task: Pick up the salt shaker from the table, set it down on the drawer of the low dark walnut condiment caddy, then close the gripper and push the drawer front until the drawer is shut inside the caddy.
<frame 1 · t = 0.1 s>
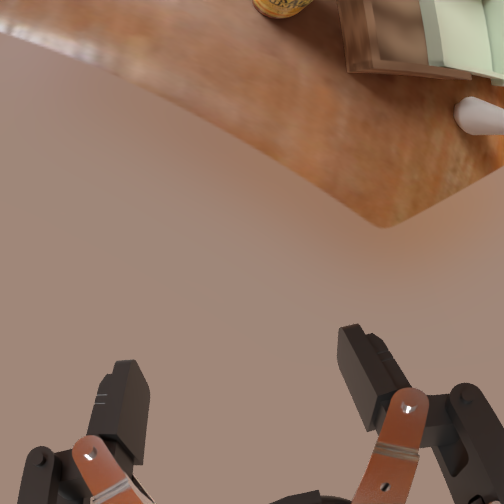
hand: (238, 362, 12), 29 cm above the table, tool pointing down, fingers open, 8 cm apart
drawer: (474, 25, 27), point 4 cm above the table, slide at 11.0 cm
sauce bottle: (277, 0, 29), on the table
cabinet: (389, 13, 30), on the table
salt shaker: (461, 113, 37), on the table
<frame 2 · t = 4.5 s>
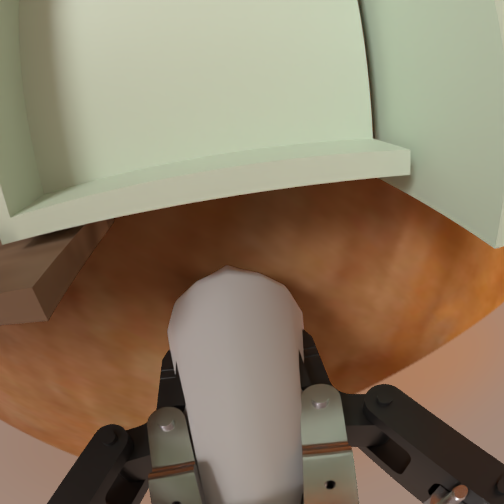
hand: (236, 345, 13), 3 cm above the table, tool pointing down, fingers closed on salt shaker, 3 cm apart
salt shaker: (232, 299, 16), on the table, touching gripper
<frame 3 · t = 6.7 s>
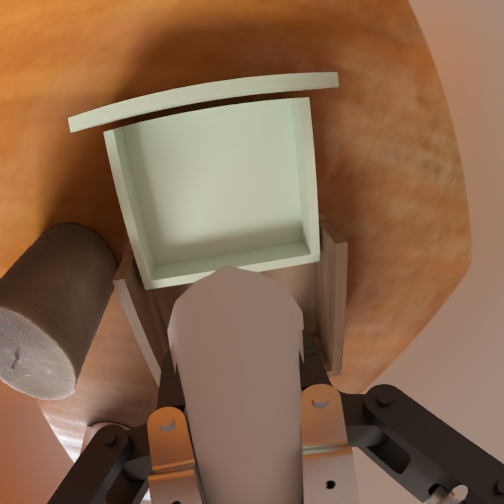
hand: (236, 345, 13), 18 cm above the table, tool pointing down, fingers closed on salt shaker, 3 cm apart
drawer: (216, 188, 23), point 4 cm above the table, slide at 11.0 cm
pillar candle: (75, 266, 29), on the table
cabinet: (236, 294, 33), on the table
salt shaker: (232, 299, 16), point 14 cm above the table, touching gripper
when the fingers open (7 cm above the table, at t = 9.0 s): salt shaker drops 1 cm, resting on drawer.
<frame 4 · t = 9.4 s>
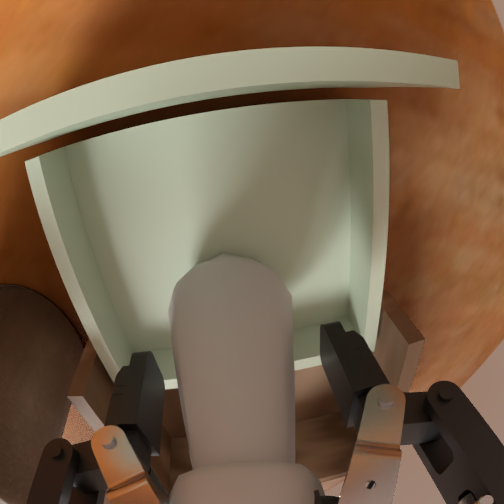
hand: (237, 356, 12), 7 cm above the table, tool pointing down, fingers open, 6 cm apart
drawer: (221, 258, 13), point 4 cm above the table, slide at 11.1 cm, touching salt shaker
pillar candle: (32, 337, 20), on the table
cabinet: (248, 376, 23), on the table
salt shaker: (229, 284, 17), point 2 cm above the table, touching drawer
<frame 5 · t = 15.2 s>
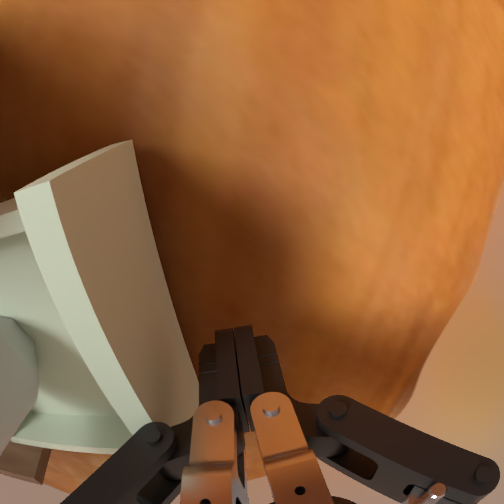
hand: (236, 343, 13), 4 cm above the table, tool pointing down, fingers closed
drawer: (29, 371, 12), point 4 cm above the table, slide at 11.0 cm, touching gripper, salt shaker
salt shaker: (11, 339, 14), point 2 cm above the table, touching drawer
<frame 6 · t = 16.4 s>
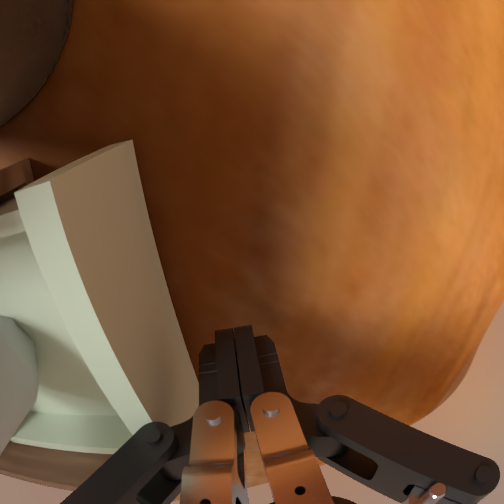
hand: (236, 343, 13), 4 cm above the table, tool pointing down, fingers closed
drawer: (29, 371, 12), point 4 cm above the table, slide at 4.3 cm, touching gripper, salt shaker
salt shaker: (11, 339, 14), point 2 cm above the table, touching drawer
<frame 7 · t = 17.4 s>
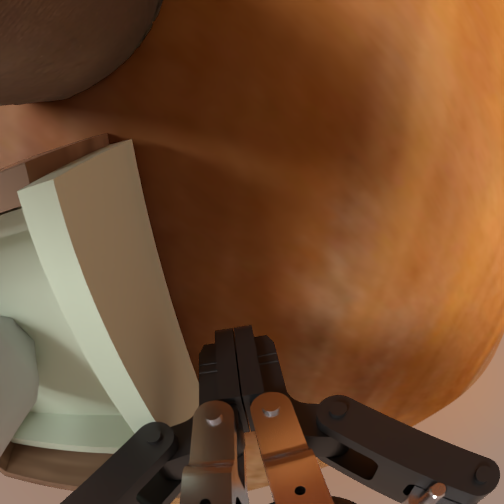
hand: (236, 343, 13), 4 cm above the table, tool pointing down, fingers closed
drawer: (29, 371, 12), point 4 cm above the table, slide at 0.0 cm, touching gripper, salt shaker
pillar candle: (63, 6, 9), on the table
cabinet: (40, 320, 16), on the table
salt shaker: (10, 339, 14), point 2 cm above the table, touching drawer
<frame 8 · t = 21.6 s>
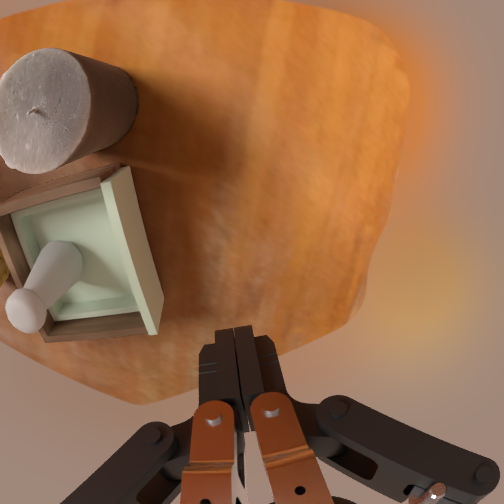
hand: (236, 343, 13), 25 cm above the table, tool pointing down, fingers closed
drawer: (80, 261, 32), point 4 cm above the table, slide at 0.0 cm, touching salt shaker
pillar candle: (96, 106, 29), on the table
sauce bottle: (0, 257, 35), on the table
cabinet: (83, 246, 36), on the table
salt shaker: (68, 254, 34), point 2 cm above the table, touching drawer
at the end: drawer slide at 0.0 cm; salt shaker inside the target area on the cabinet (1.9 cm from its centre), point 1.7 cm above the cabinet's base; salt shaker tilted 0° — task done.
